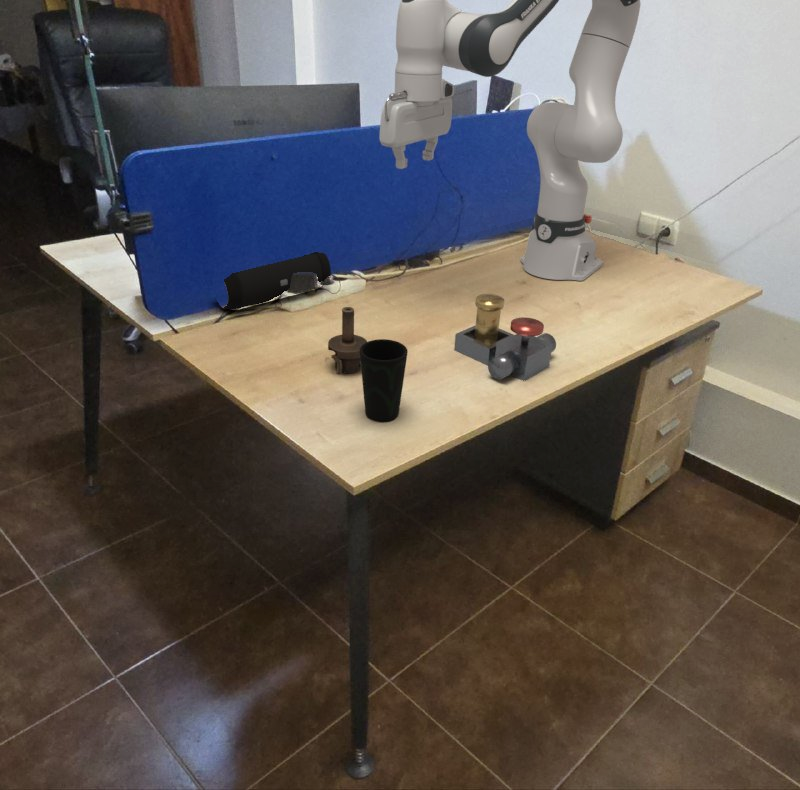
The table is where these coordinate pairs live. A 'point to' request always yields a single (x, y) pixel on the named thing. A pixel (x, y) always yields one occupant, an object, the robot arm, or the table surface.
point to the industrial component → (346, 345)
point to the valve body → (511, 349)
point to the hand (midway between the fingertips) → (414, 163)
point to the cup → (382, 378)
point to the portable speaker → (271, 279)
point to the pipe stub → (488, 317)
